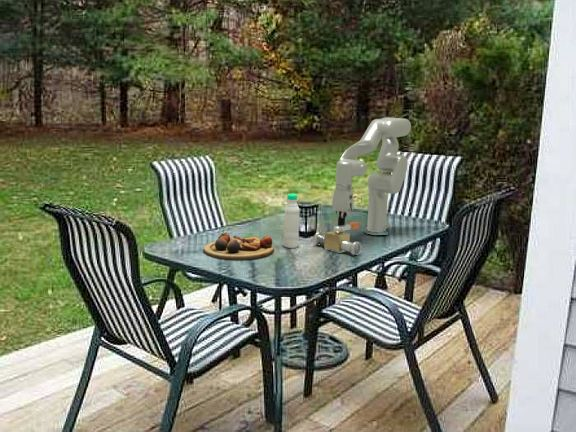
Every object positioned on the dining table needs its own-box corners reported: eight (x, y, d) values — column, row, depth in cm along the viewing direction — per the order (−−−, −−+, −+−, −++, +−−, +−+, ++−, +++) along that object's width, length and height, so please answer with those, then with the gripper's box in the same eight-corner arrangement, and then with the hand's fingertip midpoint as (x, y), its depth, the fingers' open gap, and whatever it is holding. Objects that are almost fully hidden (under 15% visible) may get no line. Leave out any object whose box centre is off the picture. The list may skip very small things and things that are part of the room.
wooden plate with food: (282, 245, 295) (282, 228, 294) (262, 263, 265) (262, 244, 263) (219, 241, 303) (218, 224, 302) (192, 257, 273) (191, 239, 272)
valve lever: (353, 227, 298) (354, 221, 297) (359, 228, 295) (360, 222, 295) (331, 232, 287) (332, 226, 286) (337, 233, 285) (338, 227, 284)
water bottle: (280, 247, 292) (282, 194, 286) (287, 243, 298) (289, 192, 292) (294, 249, 289) (295, 196, 283) (301, 245, 295) (302, 193, 289)
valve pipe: (322, 243, 300) (323, 226, 298) (361, 254, 283) (362, 236, 281) (312, 246, 295) (313, 228, 293) (351, 257, 278) (352, 238, 276)
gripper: (360, 189, 291) (358, 227, 295) (336, 184, 302) (334, 221, 305) (350, 190, 286) (348, 229, 290) (326, 185, 296) (324, 223, 300)
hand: (341, 225), depth 298 cm, fingers closed
